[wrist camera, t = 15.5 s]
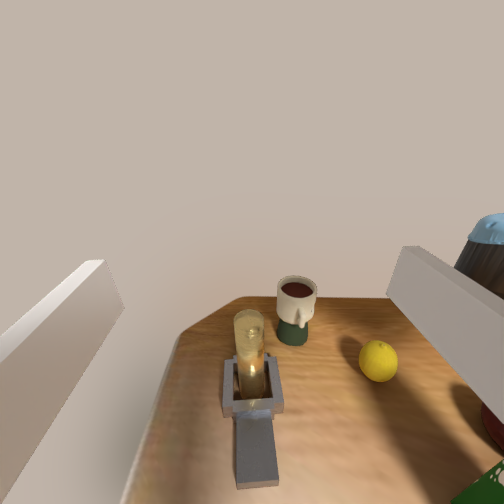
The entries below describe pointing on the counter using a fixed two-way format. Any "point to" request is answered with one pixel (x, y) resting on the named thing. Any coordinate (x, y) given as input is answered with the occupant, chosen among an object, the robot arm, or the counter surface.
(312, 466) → the counter surface
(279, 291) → the character mug
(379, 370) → the lemon
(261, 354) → the link pin
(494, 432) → the potato
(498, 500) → the milk carton
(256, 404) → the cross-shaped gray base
